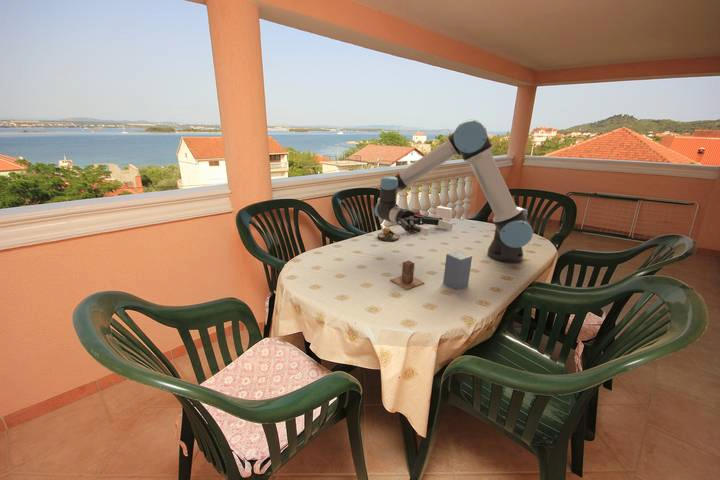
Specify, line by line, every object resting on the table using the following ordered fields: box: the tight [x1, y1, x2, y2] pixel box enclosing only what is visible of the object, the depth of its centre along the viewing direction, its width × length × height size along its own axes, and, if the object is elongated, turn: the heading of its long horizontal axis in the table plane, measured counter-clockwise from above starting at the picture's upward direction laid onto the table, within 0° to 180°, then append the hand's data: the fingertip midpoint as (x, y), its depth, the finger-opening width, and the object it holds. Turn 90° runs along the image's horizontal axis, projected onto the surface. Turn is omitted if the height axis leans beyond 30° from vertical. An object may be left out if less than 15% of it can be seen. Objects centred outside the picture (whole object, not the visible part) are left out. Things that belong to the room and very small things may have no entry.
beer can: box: [408, 209, 422, 234], centre depth 180 cm, size 7×7×12 cm
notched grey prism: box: [442, 250, 473, 291], centre depth 117 cm, size 6×6×12 cm
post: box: [389, 260, 425, 291], centre depth 119 cm, size 9×9×8 cm
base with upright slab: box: [434, 205, 453, 230], centre depth 188 cm, size 9×9×12 cm
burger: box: [377, 226, 401, 242], centre depth 168 cm, size 12×12×8 cm
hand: (440, 229), depth 121 cm, fingers open, 13 cm apart
